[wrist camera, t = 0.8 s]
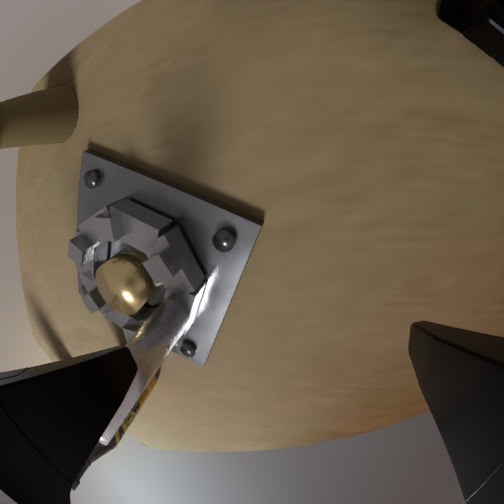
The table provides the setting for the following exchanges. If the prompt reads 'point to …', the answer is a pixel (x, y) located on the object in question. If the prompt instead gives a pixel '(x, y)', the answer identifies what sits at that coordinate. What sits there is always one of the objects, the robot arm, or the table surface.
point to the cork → (38, 117)
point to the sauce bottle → (102, 448)
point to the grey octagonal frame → (161, 270)
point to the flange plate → (194, 231)
